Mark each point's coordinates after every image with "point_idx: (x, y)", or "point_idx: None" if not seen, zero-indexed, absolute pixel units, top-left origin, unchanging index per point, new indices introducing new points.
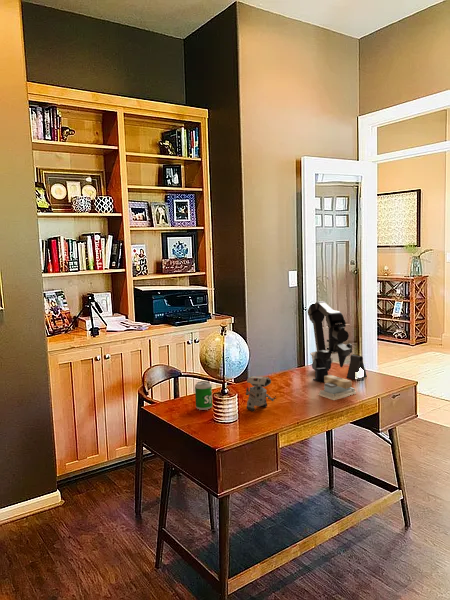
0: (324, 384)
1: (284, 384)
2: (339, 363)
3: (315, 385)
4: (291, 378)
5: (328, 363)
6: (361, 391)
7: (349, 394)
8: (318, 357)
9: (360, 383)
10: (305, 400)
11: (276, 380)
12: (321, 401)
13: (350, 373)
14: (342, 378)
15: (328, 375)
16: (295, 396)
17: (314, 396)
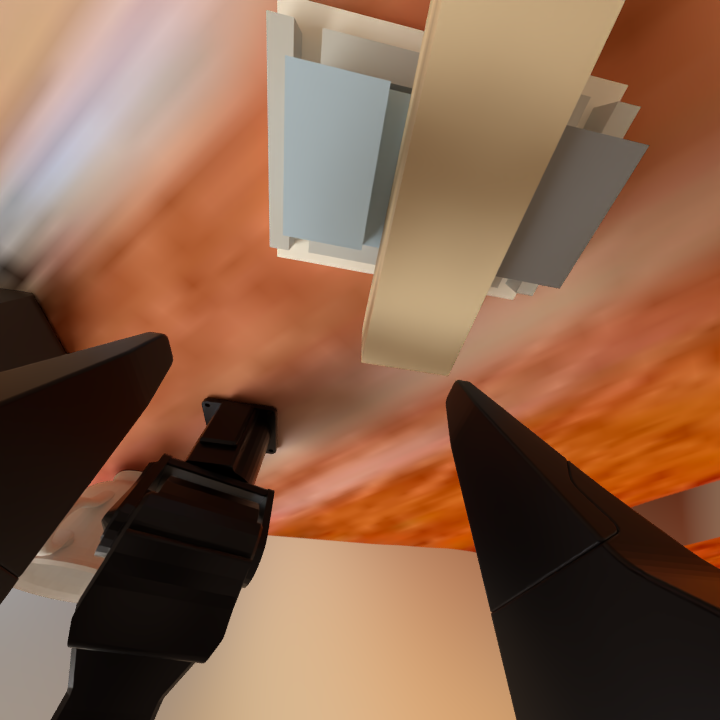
0: (555, 282)
1: (416, 485)
2: (141, 413)
3: (337, 403)
4: (327, 501)
5: (582, 485)
6: (170, 13)
7: (395, 27)
8: (232, 601)
9: (33, 209)
10: (657, 296)
11: (387, 517)
12: (665, 182)
13: (16, 358)
14: (433, 105)
15: (401, 357)
16: (582, 379)
17: (544, 300)
